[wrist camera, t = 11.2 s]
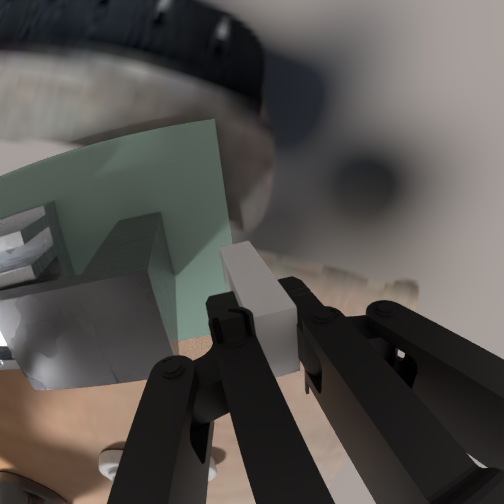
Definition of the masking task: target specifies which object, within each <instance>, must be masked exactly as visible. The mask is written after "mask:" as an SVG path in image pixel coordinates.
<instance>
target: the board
mask: <svg viewBox="0 0 504 504" xmlns="http://www.w3.org/2000/svg"><path fill="white" fill-rule="evenodd" d="M53 200H54V201H55V205H56V209H57V213H58V217H59V221H60V225H61V229H62V232H63V236H64V240H65V243H66V246H67V250H68V253H69V256H70V259H71V263H72V266H73V269H74V272H75V275H79V274H82V273H83V271H84V270H85V268H86V267H87V265H88V264H89V262H90V261H91V259H92V258H93V256H94V255H95V253H96V252H97V250H98V249H99V247H100V246H101V244H102V243H103V241H104V240H105V239H106V237H107V236H108V234H109V233H110V232H111V230H112V229H113V227H114V226H115V225H116V223H117V222H118V221H119V220H124V219H128V218H133V217H137V216H142V215H146V214H151V213H156V212H160V211H161V216H162V221H163V226H164V231H165V235H166V240H167V244H168V249H169V253H170V257H171V262H172V266H173V270H174V274H175V278H176V308H177V329H178V341H180V340H185V339H190V338H195V337H200V336H205V335H209V334H211V333H210V329H209V325H208V321H209V319H208V314H207V309H206V304H205V303H206V301H207V299H208V297H209V296H211V295H216V294H221V293H225V292H227V289H226V284H225V279H224V273H223V268H222V262H221V257H220V251H219V247H221V246H226V245H230V244H233V242H232V235H231V229H230V222H229V216H228V209H227V202H226V195H225V189H224V182H223V175H222V168H221V161H220V154H219V146H218V139H217V132H216V125H215V119H209V120H203V121H196V122H190V123H184V124H179V125H173V126H168V127H163V128H158V129H153V130H148V131H143V132H139V133H134V134H130V135H126V136H122V137H118V138H114V139H110V140H106V141H102V142H99V143H95V144H91V145H88V146H84V147H81V148H78V149H74V150H71V151H68V152H65V153H62V154H59V155H56V156H53V157H50V158H47V159H44V160H41V161H38V162H36V163H33V164H30V165H27V166H25V167H22V168H20V169H17V170H15V171H12V172H10V173H7V174H5V175H2V176H0V218H2V217H4V216H7V215H10V214H13V213H16V212H19V211H22V210H25V209H28V208H31V207H34V206H37V205H40V204H43V203H46V202H50V201H53Z"/></svg>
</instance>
